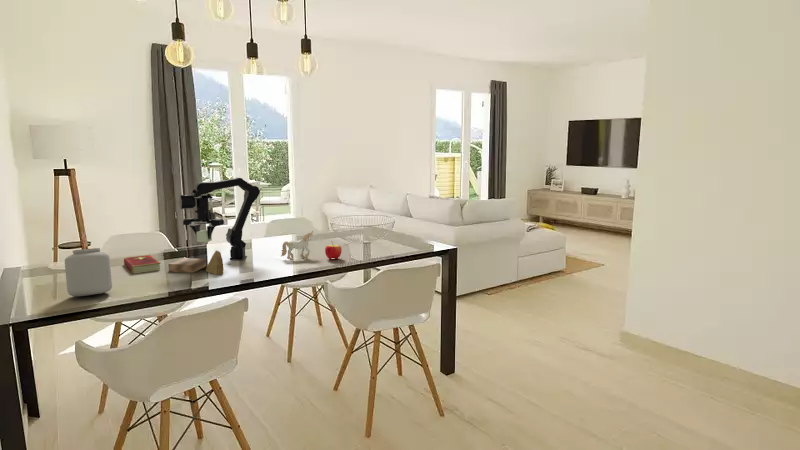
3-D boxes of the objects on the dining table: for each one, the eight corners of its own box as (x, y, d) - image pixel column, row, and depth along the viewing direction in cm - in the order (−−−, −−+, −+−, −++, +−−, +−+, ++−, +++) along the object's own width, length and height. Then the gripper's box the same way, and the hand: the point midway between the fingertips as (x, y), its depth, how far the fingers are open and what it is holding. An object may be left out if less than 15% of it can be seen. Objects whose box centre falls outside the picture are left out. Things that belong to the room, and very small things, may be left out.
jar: (68, 291, 197) (62, 230, 193) (111, 286, 205) (106, 227, 201) (67, 304, 181) (60, 237, 177) (113, 298, 189) (108, 234, 185)
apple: (322, 260, 254) (321, 241, 252) (330, 256, 262) (330, 238, 260) (336, 261, 251) (336, 242, 249) (344, 258, 259) (344, 239, 257)
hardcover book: (132, 274, 225) (131, 265, 224) (124, 265, 241) (123, 257, 240) (161, 270, 232) (160, 262, 231) (151, 262, 248) (150, 254, 248)
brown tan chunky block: (229, 269, 224) (229, 261, 233) (216, 256, 221) (217, 248, 230) (210, 284, 224) (211, 275, 233) (196, 271, 220) (198, 263, 229)
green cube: (211, 240, 247) (211, 230, 246) (206, 242, 242) (206, 232, 241) (202, 240, 248) (201, 230, 247) (197, 241, 243) (196, 231, 242)
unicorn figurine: (320, 257, 261) (319, 232, 259) (286, 262, 249) (285, 236, 246) (313, 254, 266) (313, 230, 264) (280, 259, 254) (279, 234, 252)
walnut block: (206, 267, 240) (205, 259, 239) (193, 273, 228) (192, 264, 227) (183, 266, 241) (182, 258, 240) (168, 272, 229) (168, 263, 229)
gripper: (228, 206, 249) (229, 236, 252) (193, 205, 251) (195, 235, 254) (217, 209, 238) (219, 240, 241) (181, 208, 240) (183, 239, 243)
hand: (204, 239), depth 245 cm, fingers closed on green cube, 5 cm apart
